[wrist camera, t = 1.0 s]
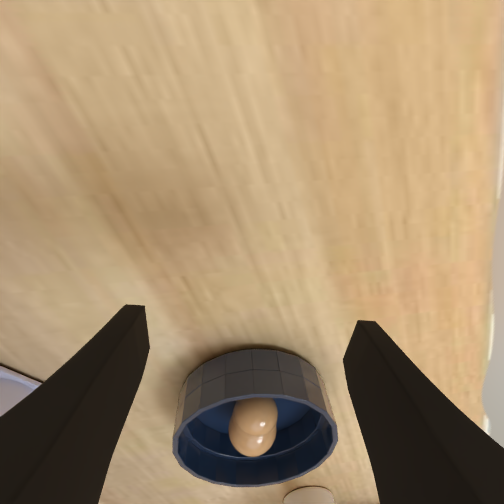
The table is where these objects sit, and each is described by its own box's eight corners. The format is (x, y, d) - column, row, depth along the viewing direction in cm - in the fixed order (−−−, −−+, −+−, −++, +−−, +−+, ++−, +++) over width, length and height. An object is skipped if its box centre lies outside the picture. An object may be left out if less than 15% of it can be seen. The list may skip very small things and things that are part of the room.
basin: (254, 449, 33) (258, 500, 29) (151, 402, 28) (138, 455, 24) (351, 388, 28) (370, 438, 24) (249, 319, 24) (253, 368, 20)
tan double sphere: (270, 420, 29) (273, 468, 26) (226, 417, 29) (224, 466, 25) (281, 380, 26) (288, 428, 23) (233, 377, 26) (232, 424, 22)
